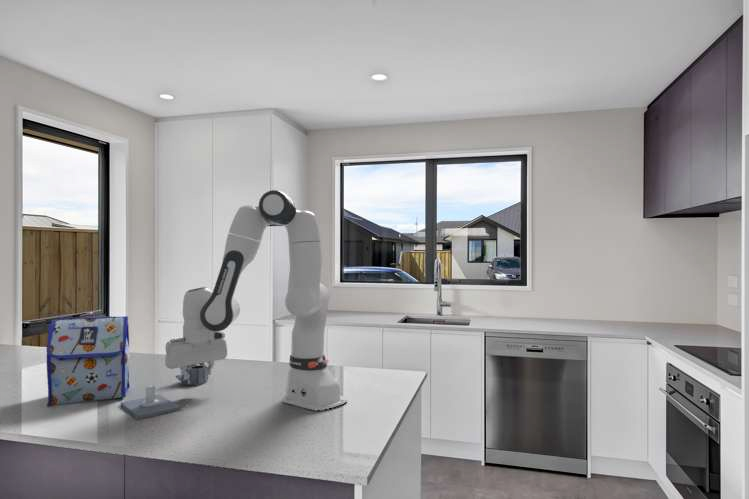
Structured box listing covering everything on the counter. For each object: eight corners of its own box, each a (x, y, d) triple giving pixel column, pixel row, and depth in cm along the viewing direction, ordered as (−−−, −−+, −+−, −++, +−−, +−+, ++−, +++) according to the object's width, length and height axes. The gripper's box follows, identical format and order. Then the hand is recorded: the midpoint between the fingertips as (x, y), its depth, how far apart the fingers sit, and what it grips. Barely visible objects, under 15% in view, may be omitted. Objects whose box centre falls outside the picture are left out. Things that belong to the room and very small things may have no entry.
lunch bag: (41, 410, 138) (43, 321, 138) (53, 394, 153) (55, 314, 153) (126, 401, 147) (128, 318, 148) (129, 387, 162) (132, 312, 163)
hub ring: (209, 381, 154) (209, 367, 154) (192, 385, 150) (192, 370, 150) (201, 378, 158) (201, 364, 158) (185, 382, 154) (185, 367, 154)
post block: (179, 410, 141) (180, 388, 141) (138, 419, 132) (138, 397, 132) (160, 397, 152) (160, 378, 152) (120, 405, 143) (121, 384, 143)
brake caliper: (200, 381, 163) (184, 353, 165) (179, 397, 165) (163, 369, 168) (219, 374, 174) (203, 347, 176) (199, 389, 176) (184, 362, 178)
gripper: (169, 341, 144) (170, 385, 144) (229, 332, 159) (229, 372, 159) (161, 339, 149) (162, 381, 149) (220, 330, 163) (220, 369, 163)
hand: (197, 376), depth 154 cm, fingers closed on hub ring, 6 cm apart
